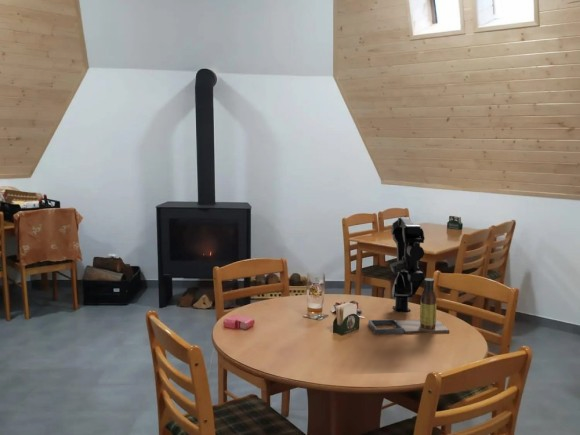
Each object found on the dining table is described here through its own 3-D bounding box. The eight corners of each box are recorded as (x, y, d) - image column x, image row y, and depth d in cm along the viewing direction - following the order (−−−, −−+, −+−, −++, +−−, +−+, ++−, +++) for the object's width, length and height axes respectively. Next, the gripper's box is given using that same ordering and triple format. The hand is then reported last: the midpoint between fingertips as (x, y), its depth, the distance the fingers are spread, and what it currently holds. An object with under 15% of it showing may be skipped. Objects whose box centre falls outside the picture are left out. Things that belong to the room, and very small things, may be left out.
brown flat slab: (395, 322, 213) (395, 320, 213) (436, 321, 215) (437, 319, 215) (405, 333, 200) (405, 331, 200) (449, 332, 202) (449, 330, 202)
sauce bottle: (428, 323, 210) (430, 276, 207) (439, 328, 204) (441, 279, 201) (415, 325, 206) (418, 278, 204) (426, 330, 201) (429, 281, 198)
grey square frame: (368, 324, 210) (368, 319, 210) (395, 323, 211) (395, 319, 211) (375, 334, 199) (375, 329, 199) (403, 333, 200) (403, 328, 200)
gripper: (386, 250, 219) (384, 285, 221) (399, 259, 201) (397, 298, 203) (411, 250, 220) (409, 285, 222) (426, 259, 202) (424, 297, 204)
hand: (409, 291), depth 213 cm, fingers open, 9 cm apart
